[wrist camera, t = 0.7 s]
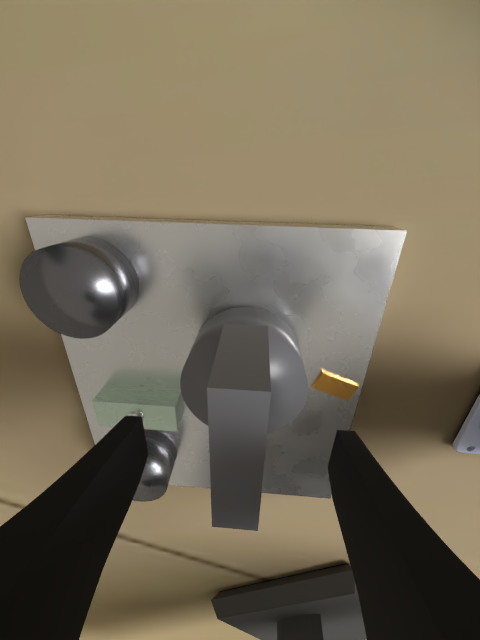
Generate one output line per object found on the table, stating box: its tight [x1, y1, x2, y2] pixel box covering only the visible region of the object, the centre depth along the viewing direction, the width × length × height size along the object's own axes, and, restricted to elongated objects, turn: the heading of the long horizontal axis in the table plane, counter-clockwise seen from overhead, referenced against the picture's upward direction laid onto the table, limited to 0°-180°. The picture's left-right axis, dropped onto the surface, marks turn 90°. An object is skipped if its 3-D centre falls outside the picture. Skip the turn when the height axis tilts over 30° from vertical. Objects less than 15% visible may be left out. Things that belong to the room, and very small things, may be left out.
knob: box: [180, 307, 308, 531], centre depth 13 cm, size 6×12×7 cm, turn 179°
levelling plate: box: [20, 215, 407, 501], centre depth 17 cm, size 18×20×4 cm
